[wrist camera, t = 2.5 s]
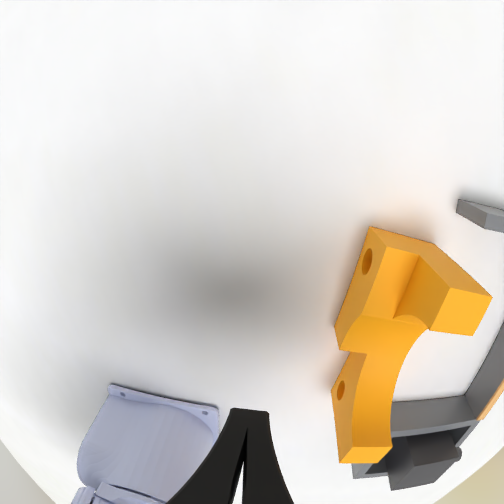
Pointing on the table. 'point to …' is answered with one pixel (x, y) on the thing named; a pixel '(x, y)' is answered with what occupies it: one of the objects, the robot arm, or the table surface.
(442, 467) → the grey piece
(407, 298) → the pipe clamp
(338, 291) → the table surface
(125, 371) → the table surface
